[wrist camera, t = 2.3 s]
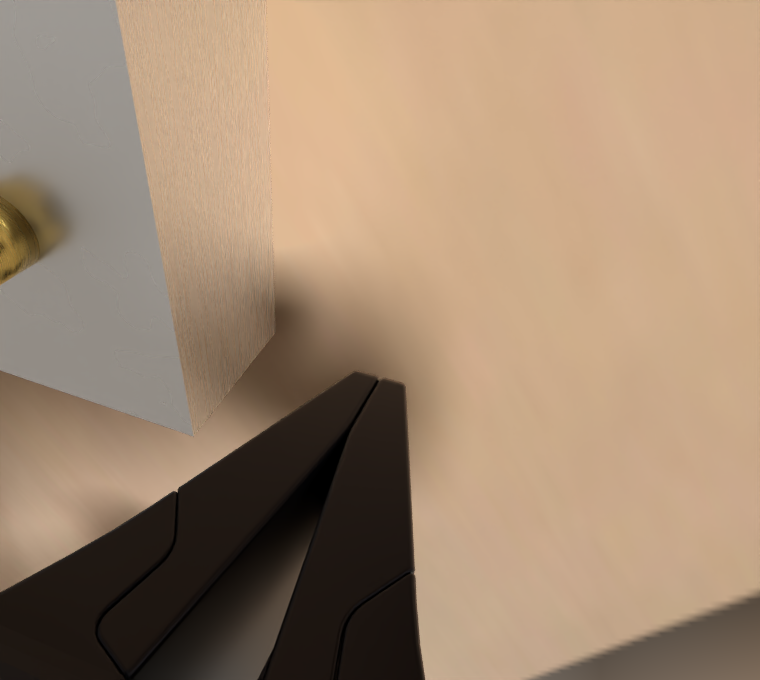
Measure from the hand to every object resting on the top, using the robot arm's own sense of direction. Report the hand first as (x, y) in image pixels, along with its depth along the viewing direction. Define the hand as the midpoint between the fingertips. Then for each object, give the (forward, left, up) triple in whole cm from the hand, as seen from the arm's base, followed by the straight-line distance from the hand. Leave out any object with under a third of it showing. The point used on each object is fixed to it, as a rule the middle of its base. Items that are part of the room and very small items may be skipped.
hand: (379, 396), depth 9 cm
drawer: (0, +9, -7) cm, 11 cm away
